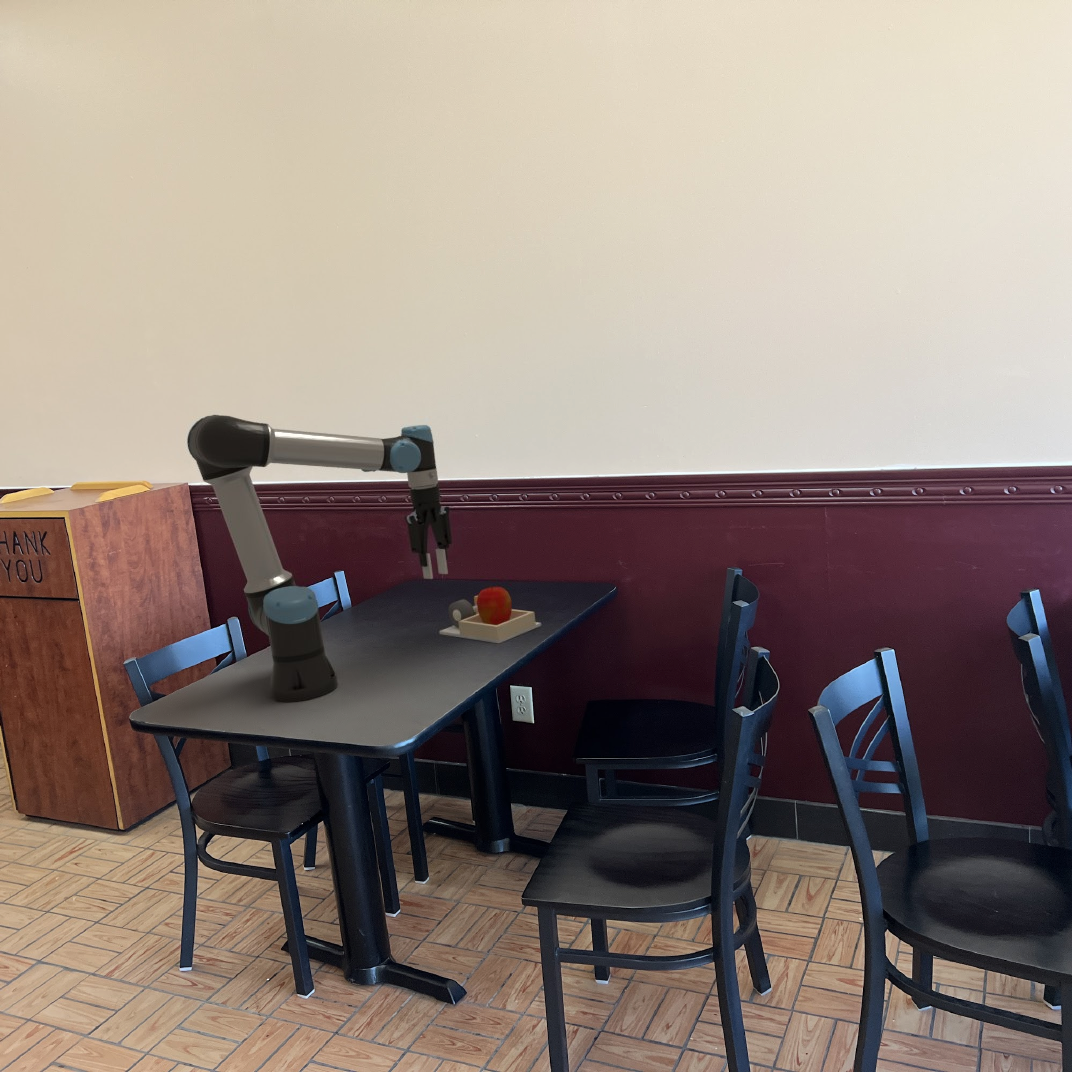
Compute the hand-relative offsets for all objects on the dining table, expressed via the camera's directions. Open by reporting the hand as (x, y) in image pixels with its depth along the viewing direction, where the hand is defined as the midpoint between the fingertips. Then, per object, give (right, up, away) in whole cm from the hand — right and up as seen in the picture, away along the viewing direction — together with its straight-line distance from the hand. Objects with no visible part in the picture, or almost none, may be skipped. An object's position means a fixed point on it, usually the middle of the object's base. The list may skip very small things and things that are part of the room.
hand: (435, 575), depth 251 cm
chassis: (+14, -15, +6) cm, 21 cm away
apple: (+16, -14, +2) cm, 21 cm away
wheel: (+8, -13, +10) cm, 18 cm away
